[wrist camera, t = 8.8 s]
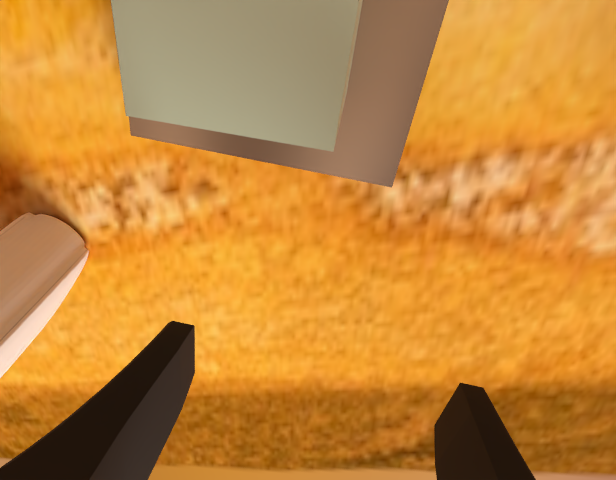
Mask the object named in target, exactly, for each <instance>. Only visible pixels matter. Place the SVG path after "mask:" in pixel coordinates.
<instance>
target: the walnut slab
mask: <svg viewBox="0 0 616 480" xmlns="http://www.w3.org/2000/svg"><path fill="white" fill-rule="evenodd" d="M448 1H449V0H363V2H362V8H361V13H360V19H359V25H358V31H357V36H356V42H355V48H354V53H353V59H352V65H351V71H350V76H349V82H348V88H347V93H346V98H345V102H344V107H343V111H342V116H341V120H340V125H339V129H338V133H337V138H336V142H335V147H334V151H333V152H332V151H326V150H320V149H315V148H309V147H303V146H297V145H291V144H286V143H280V142H274V141H268V140H263V139H257V138H251V137H245V136H240V135H234V134H228V133H222V132H216V131H211V130H205V129H199V128H193V127H188V126H182V125H176V124H170V123H165V122H159V121H153V120H147V119H141V118H136V117H130V116H129V121H130V131H131V135H132V136H137V137H142V138H147V139H152V140H157V141H162V142H167V143H172V144H177V145H182V146H187V147H192V148H197V149H202V150H207V151H212V152H217V153H222V154H227V155H232V156H237V157H242V158H247V159H252V160H257V161H263V162H268V163H273V164H278V165H283V166H288V167H293V168H298V169H303V170H308V171H313V172H318V173H323V174H328V175H333V176H338V177H343V178H348V179H353V180H358V181H363V182H368V183H373V184H378V185H383V186H388V187H392V185H393V182H394V179H395V175H396V172H397V169H398V165H399V162H400V159H401V156H402V152H403V149H404V146H405V142H406V139H407V136H408V133H409V129H410V126H411V123H412V119H413V116H414V113H415V110H416V106H417V103H418V100H419V96H420V93H421V90H422V87H423V83H424V80H425V77H426V73H427V70H428V67H429V64H430V60H431V57H432V54H433V50H434V47H435V44H436V41H437V37H438V34H439V31H440V27H441V24H442V21H443V18H444V14H445V11H446V8H447V4H448Z"/></svg>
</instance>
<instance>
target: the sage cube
mask: <svg viewBox="0 0 616 480" xmlns="http://www.w3.org/2000/svg"><path fill="white" fill-rule="evenodd" d="M362 2H363V0H111V5H112V13H113V20H114V28H115V36H116V43H117V51H118V58H119V66H120V74H121V81H122V89H123V96H124V104H125V112H126V116H130V117H136V118H141V119H147V120H153V121H159V122H165V123H170V124H176V125H182V126H188V127H193V128H199V129H205V130H211V131H216V132H222V133H228V134H234V135H240V136H245V137H251V138H257V139H263V140H268V141H274V142H280V143H286V144H291V145H297V146H303V147H309V148H315V149H320V150H326V151H332V152H333V151H334V147H335V142H336V138H337V133H338V129H339V125H340V120H341V116H342V111H343V107H344V102H345V98H346V93H347V88H348V82H349V76H350V71H351V65H352V59H353V53H354V48H355V42H356V36H357V31H358V25H359V19H360V13H361V8H362Z"/></svg>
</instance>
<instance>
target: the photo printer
mask: <svg viewBox="0 0 616 480" xmlns="http://www.w3.org/2000/svg"><path fill="white" fill-rule="evenodd" d="M84 246H85V243H84V240H83V239H82V238H81V236H80V235H79V234H78V233H77V232H76V231H75V230H74V229H72V228H71V227H70V226H69V225H67V224H66V223H64V222H62V221H61V220H59V219H57V218H55V217H52V216H49V215H45V214H38V215H34V214H32V213H30V212H28V213H26V214H24V215H22V216H20V217H19V218H17V219H15V220H14V221H13V222H11V223H10V224H9V225H7V226H6V227H5V228H4V229H2V230H1V231H0V378H1V377H2V376H3V375H4V373H5V372H6V371H7V370H8V369H9V368H10V367H11V365H12V364H13V363H14V362H15V361H16V360H17V358H18V357H19V356H20V355H21V354H22V353H23V351H24V350H25V349H26V348H27V347H28V346H29V344H30V343H31V342H32V341H33V340H34V338H35V337H36V336H37V335H38V334H39V332H40V331H41V330H42V329H43V328H44V326H45V325H46V324H47V322H48V321H49V320H50V318H51V317H52V316H53V314H54V313H55V312H56V310H57V309H58V307H59V306H60V304H61V303H62V301H63V300H64V298H65V297H66V295H67V294H68V292H69V291H70V289H71V287H72V286H73V284H74V282H75V281H76V279H77V277H78V276H79V274H80V272H81V270H82V269H83V267H84V265H85V262H86V260H87V257H88V253H89V250H88V249H86V248H85V247H84Z"/></svg>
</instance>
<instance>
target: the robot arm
mask: <svg viewBox="0 0 616 480" xmlns="http://www.w3.org/2000/svg"><path fill="white" fill-rule="evenodd" d="M194 373H195V337H194V325H189V324H184V323H180V322H175V321H171V322H169V323H168V324H167V325H166V326H165V327H164V328H163V329H162V331H161V332H160V333H159V334H158V335H157V336H156V337H155V338H154V339H153V340H152V341H151V342H150V343H149V344H148V345H147V346H146V347H145V348H144V349H143V350H142V351H141V352H140V353H139V354H138V355H137V356H136V357H135V358H134V359H133V360H132V361H131V362H130V363H129V364H128V365H127V366H126V367H125V368H124V369H123V370H122V371H121V372H119V373H118V374H117V375H116V376H115V377H114V378H113V379H112V380H111V381H110V382H109V383H108V384H107V385H105V386H104V387H103V388H102V389H101V390H100V391H99V392H97V393H96V394H95V395H94V396H93V397H92V398H90V399H89V400H88V401H87V402H86V403H85V404H83V405H82V406H81V407H80V408H79V409H78V410H76V411H75V412H74V413H73V414H72V415H70V416H69V417H68V418H67V419H66V420H64V421H63V422H62V423H61V424H59V425H58V426H57V427H55V428H54V429H53V430H52V431H50V432H49V433H48V434H46V435H45V436H44V437H42V438H41V439H40V440H38V441H37V442H36V443H34V444H33V445H32V446H30V447H29V448H28V449H26V450H25V451H24V452H22V453H21V454H19V455H18V456H16V457H15V458H14V459H12V460H11V461H9V462H8V463H6V464H5V465H4V466H2V467H1V468H0V480H148V478H149V476H150V474H151V472H152V470H153V468H154V466H155V464H156V461H157V459H158V457H159V455H160V453H161V451H162V449H163V447H164V445H165V443H166V441H167V439H168V437H169V435H170V433H171V431H172V428H173V426H174V424H175V422H176V420H177V418H178V416H179V414H180V412H181V410H182V407H183V404H184V401H185V399H186V396H187V393H188V391H189V388H190V385H191V382H192V379H193V376H194ZM435 467H436V475H437V480H536V479H535V478H534V476H533V474H532V473H531V471H530V469H529V468H528V466H527V464H526V463H525V461H524V459H523V458H522V456H521V454H520V452H519V451H518V449H517V447H516V446H515V444H514V442H513V440H512V438H511V437H510V435H509V433H508V431H507V430H506V428H505V426H504V424H503V422H502V421H501V419H500V417H499V415H498V413H497V411H496V410H495V408H494V406H493V404H492V402H491V401H490V399H489V397H488V395H487V393H486V392H485V390H484V388H482V387H478V386H473V385H468V384H464V383H460V384H459V386H458V387H457V389H456V391H455V392H454V394H453V396H452V397H451V399H450V401H449V402H448V404H447V405H446V407H445V409H444V410H443V412H442V414H441V415H440V417H439V419H438V420H437V422H436V424H435Z"/></svg>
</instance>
